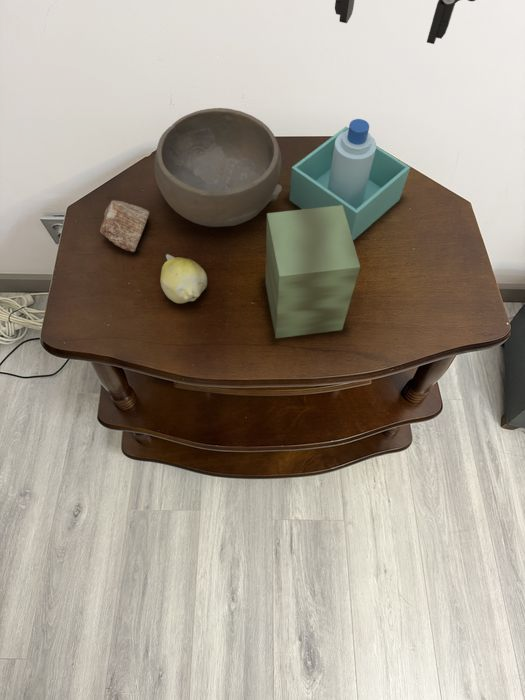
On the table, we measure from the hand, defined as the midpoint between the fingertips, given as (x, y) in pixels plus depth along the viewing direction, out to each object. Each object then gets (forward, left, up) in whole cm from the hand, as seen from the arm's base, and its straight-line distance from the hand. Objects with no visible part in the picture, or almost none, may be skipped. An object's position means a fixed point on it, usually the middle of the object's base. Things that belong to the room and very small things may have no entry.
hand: (388, 28), depth 50 cm
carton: (+3, -6, -31) cm, 31 cm away
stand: (-1, +14, -31) cm, 33 cm away
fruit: (+15, +20, -31) cm, 39 cm away
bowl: (+19, +4, -31) cm, 36 cm away
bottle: (+3, -7, -30) cm, 31 cm away
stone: (+27, +17, -31) cm, 44 cm away
